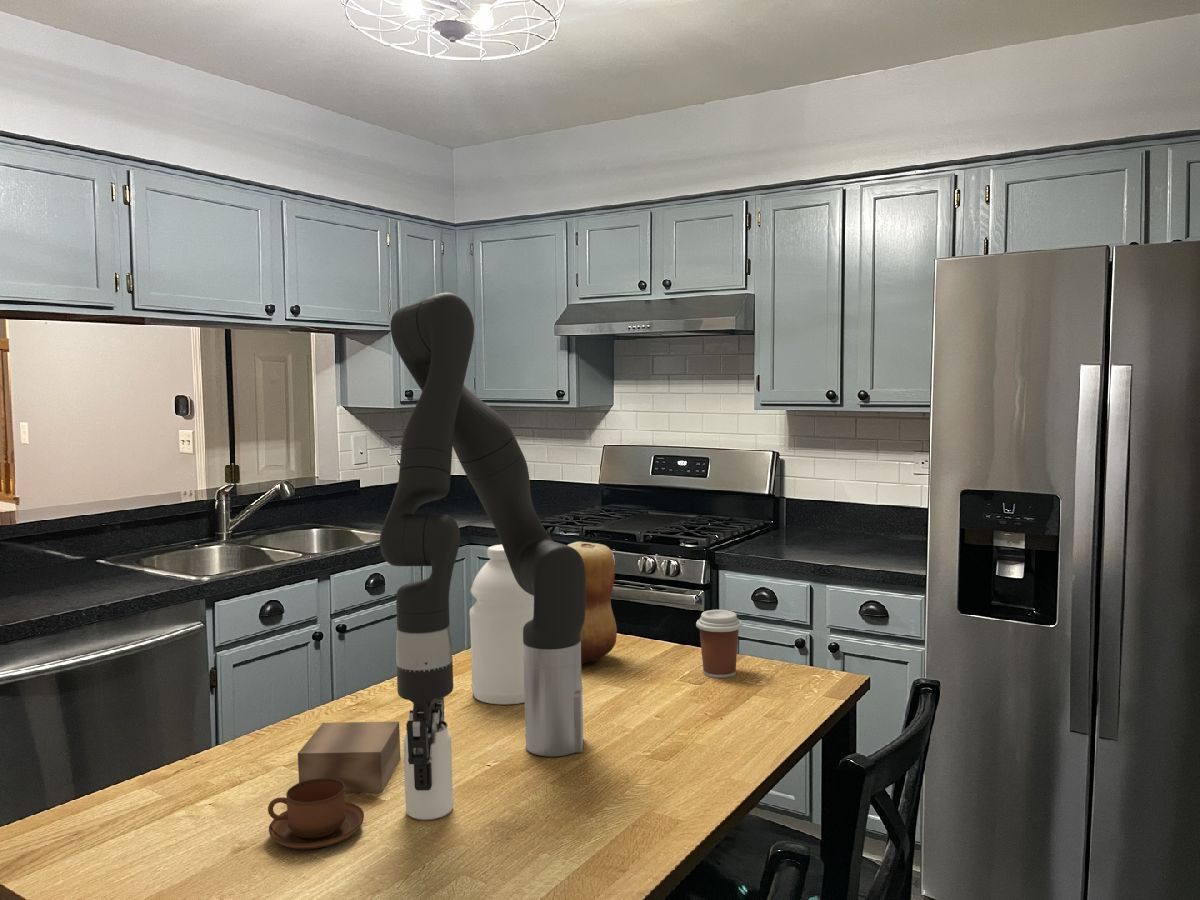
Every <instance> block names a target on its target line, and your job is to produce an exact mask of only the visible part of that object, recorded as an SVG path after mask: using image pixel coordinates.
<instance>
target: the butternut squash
mask: <svg viewBox="0 0 1200 900" xmlns="http://www.w3.org/2000/svg"><path fill="white" fill-rule="evenodd" d="M567 546H570V547H572V548H574V549H575V550H576V551H578V553H579V554H580V555H581V557H582V559H583V562H584V565H585V571H586V609H585V621H584V624H583V627H582V630H581V665H584V664H590V663H594V662H597V661H599V660H600V659H601V658H604V657H605V656H606V655H608V654H609V653H610V652H611V651H612V650H613V649H614V647H615V645H616V643H617V636H618V628H617V623H616V618H615V615H614V611H613V608H612V602H611V600H612V594H613V590H614V589H613V587H614V583H615V577H616V575H615V572H616V571H615V569H616V567H615V566H616V565H615V557H614V554H613V552H612V550H611V548H610V547H609V546H607V545H606V544H601V543H596V542H595V543H594V542H587V541H586V542H585V541H574V542H572V543H568V544H567Z"/></svg>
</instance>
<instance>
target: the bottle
mask: <svg viewBox="0 0 1200 900" xmlns="http://www.w3.org/2000/svg"><path fill="white" fill-rule="evenodd" d="M486 552H487V553H486V556H487V558H489V560H487V562H485V564H484V565H483V566H482V567H481V568H480V569H479V571H478V573H477V574H476V576H475V578H474V580H473V582H472V585H471V588H470V594H471V595H472V596H473V597H474V598H475V599H476V602H475V603H474V604H473V605H472V606H471V608H470V609H469V613H468V615H469V627H470V628H469V629H470V656H471V657H470V658H471V659H470V660H471V661H470V662H471V685H470V687H471V692H472V694H473V697H474V698H475V699H476V700H478V701H480V702H482V703H487V704H491V705H506V706H507V705H517V704H525V698H524V658H523V627H524V625H525V624H526V623H527V622H529V621H531V620H532V619H533V614H534V596H533V595H531V594H529V593H527V592H526V591H524V590H523V589H522V588H521V587H520V586H519V584H518V583H517V581H516V579H515V577H514V575H513V573H512V570H511V567H510V565H509V562H508V559H507V556H506V554H505V551H504V548H503V546H502V543H501V544H495V545H491V546H489V547H488V548H487V551H486Z"/></svg>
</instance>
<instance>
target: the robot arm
mask: <svg viewBox="0 0 1200 900" xmlns="http://www.w3.org/2000/svg"><path fill="white" fill-rule="evenodd" d="M390 335H391V338H392V342H393V345H394V347H395V348H396V352H397V353H398V355H399V357H400V359H401V360H402V362H403V363H404V365H405V367H406V369H407V370H408V372H409V373H410V375H411V376H412V378H413V379H414V381H415V383H416V384H417V386H418V388H419V389H420V391H421V393H420V397H419V398H418V400H417V403H416V405H415V406H414V409H413V411H412V413H411V415H410V417H409V419H408V422H407V423H406V427H405V430H404V433H403V436H402V441H401V448H400V459H399V460H400V461H399V473H398V481H397V486H396V489H395V493H394V496H393V499H392V502H391V504H390V507H389V510H388V512H387V515H386V518H385V520H384V522H383V525H382V528H381V531H380V536H379V548H380V552H381V555H382V557H383V559H384V560H385V562H386V563H387V564H388V565H390V566H394V567H431V573H430V576H429V577H428V578H425V579H421V580H417V581H413V582H412V581H411V582H409V583H405V584H404V585H403V584H402V585H401V586H399V588H398V589H397V591H396V599H395V601H396V602H395V605H396V628H397V630H396V642H395V657H396V658H395V659H396V685H397V694H398V696H399V697H400V698H401V699H403V700H407V701H410V702H411V703H412V705H413V706H412V710H411V709H410V710H409V714H408V720H407V722H406V725H405V726H406V727H407V730H406V732H407V738H408V756H409V758H408V762H409V764H414V783H415V789H416V790H418V791H421V790H430V789H431V787H432V768H431V761H432V746H433V745H435V744H436V737H437V733H436V732H437V724H438V723H441V724H442V720H443V721H445V698H446V697H448V696H449V695H450V694H452V692H453V691H454V667H453V666H454V665H453V639H452V635H451V627H450V590H451V588H450V587H451V583H452V576H453V570H454V566H455V563H456V560H457V556H458V551H459V548H460V545H461V544H460V543H461V531H460V527H459V525H458V523H457V521H456V520H455V519H454V517H453V516H452V515H449V514H445V513H415V512H416V511H417V509H418V508H419V507H420V506H422V505H424V504H427V503H429V502H434V501H437V500H441V499H443V498H445V497H446V496H447V495H448V494H449V492H450V487H451V478H452V477H451V475H452V461H453V450H454V452H455V455H456V457H457V459H458V461H459V464H460V465H461V467H462V469H463V471H464V473H465V475H466V477H467V479H468V481H469V482H470V484H471V486H472V487H473V490H474V492H475V493H476V495H477V497H478V499H479V501H480V502H481V505H482V507H483V509H484V511H485V513H486V515H487V516H488V518H489V520H490V521H491V523H492V524H493V527H494V529H495V531H496V533H497V536H498V538H499V540H500V542H501V544H502V546H503V548H504V551H505V554H506V556H507V559H508V562H509V565H510V567H511V570H512V573H513V575H514V577H515V579H516V581H517V583H518V584H519V586H520V587H521V588H522V589H523V590H524V591H526V592H527V593H529V594H531V595H533V596H534V614H533V619H532V620H531V621H529V622H527V623H526V624H525V625H524V627H523V658H524V698H525V702H524V725H525V727H524V729H525V730H524V732H525V733H524V736H525V749H526V750H527V751H528V752H529V753H531V754H533V755H537V756H539V757H540V756H542V757H564V756H568V755H571V754H575V753H583V749H584V715H583V714H584V707H583V703H584V702H583V699H584V698H583V683H582V682H583V681H582V664H581V630H582V627H583V624H584V621H585V609H586V571H585V565H584V562H583V559H582V557H581V555H580V554H579V553H578V551H576V550H575V549H574V548H572V547H570V546H567V545H568V544H567V545H566V544H564V543H561V542H557V541H554V540H553V539H552V538H551V536H550V535H549V534H548V532H547V530H546V528H545V527H544V525H543V524H542V522H541V519H540V517H539V516H538V514H537V512H536V510H535V506H534V503H533V500H532V495H531V480H530V472H529V468H528V467H529V466H528V463H527V460H526V458H525V455H524V453H523V450H522V448H521V447H520V445H519V442H518V440H517V438H516V436H515V434H514V432H513V430H512V429H511V427H510V425H509V424H508V422H507V421H506V420H505V419H504V418H503V417H502V416H501V415H500V414H499V413H498V412H496V410H494V409H493V408H492V407H490V406H489V405H488V404H487V403H485V401H483V400H481V398H479V397H477V395H475V394H474V393H472V392H471V390H469V389H468V388H467V386H466V385H465V379H466V375H467V372H468V371H467V370H468V366H469V362H470V358H471V353H472V348H473V344H474V336H475V323H474V317H473V314H472V312H471V309H470V307H469V305H467V302H465V300H463V299H462V297H460V296H459V295H457V294H455V293H452V292H441V293H437V294H432V295H430V296H427V297H426V298H424V299H420V300H418V301H415V302H412V303H409V304H407V305H405V306H402V307H401V308H398V309H397V310H396V311H394V313H393V314H392V317H391V321H390ZM406 727H405V728H406ZM428 733H431V737H430V738H428ZM417 748H422V749H423V754H417Z"/></svg>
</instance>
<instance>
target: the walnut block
mask: <svg viewBox="0 0 1200 900" xmlns="http://www.w3.org/2000/svg"><path fill="white" fill-rule="evenodd" d="M311 735H312V736H311V737H310V738H308V740H307V741H306V742H305V744H304V745H303V746H302V747H301V748H300V749H299V751H298V752H297V766H298V767H297V769H298V783H300V782H303V781H307V780H311V779H317V778H332V779H337V780H340V781H341V782H343V783H344V785H345V794H353V793H354V794H361V793H363V794H364V793H365V794H366V793H367V794H368V793H371V794H372V793H383V792H384V790H385V789H386V786H387V785H388V783H389V781H390V779H391V777H392V775H393V773H394V772H395V770H396V768H397V766H398V765H399V762H400V760H401V758H402V757H401V734H400V721H357V722H356V721H354V722H353V721H348V722H347V721H346V722H345V721H344V722H341V721H338V722H322V723H321V724H320V726H319V727H317V729H316V730H315V732H314V733H312V734H311Z"/></svg>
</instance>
